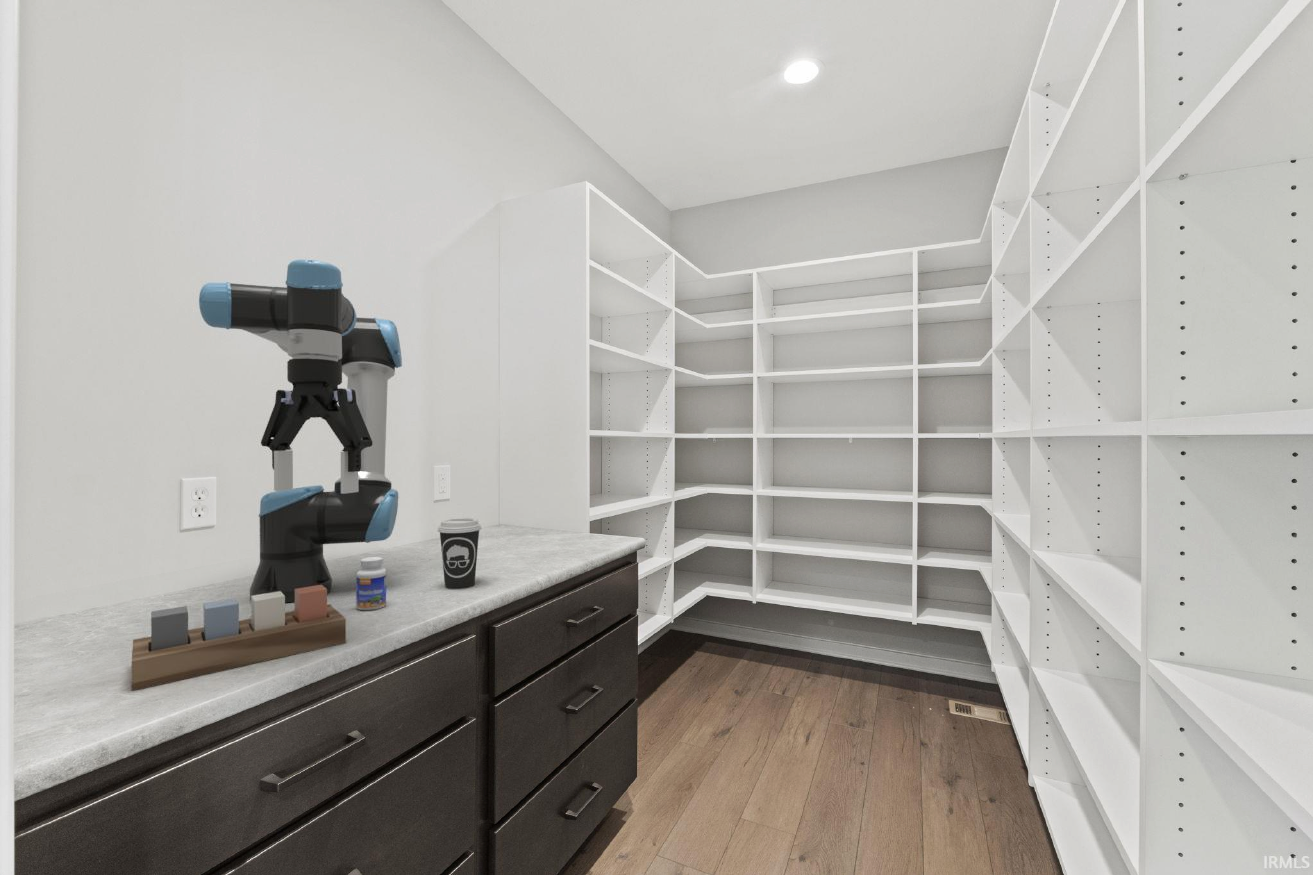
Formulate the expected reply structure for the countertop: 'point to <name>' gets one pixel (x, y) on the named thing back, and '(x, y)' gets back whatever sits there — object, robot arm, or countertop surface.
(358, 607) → the pill bottle
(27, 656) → the countertop surface
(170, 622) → the key charcoal
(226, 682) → the countertop surface
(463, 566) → the coffee cup
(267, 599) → the key ivory
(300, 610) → the key brick
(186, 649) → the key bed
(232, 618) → the key blue
